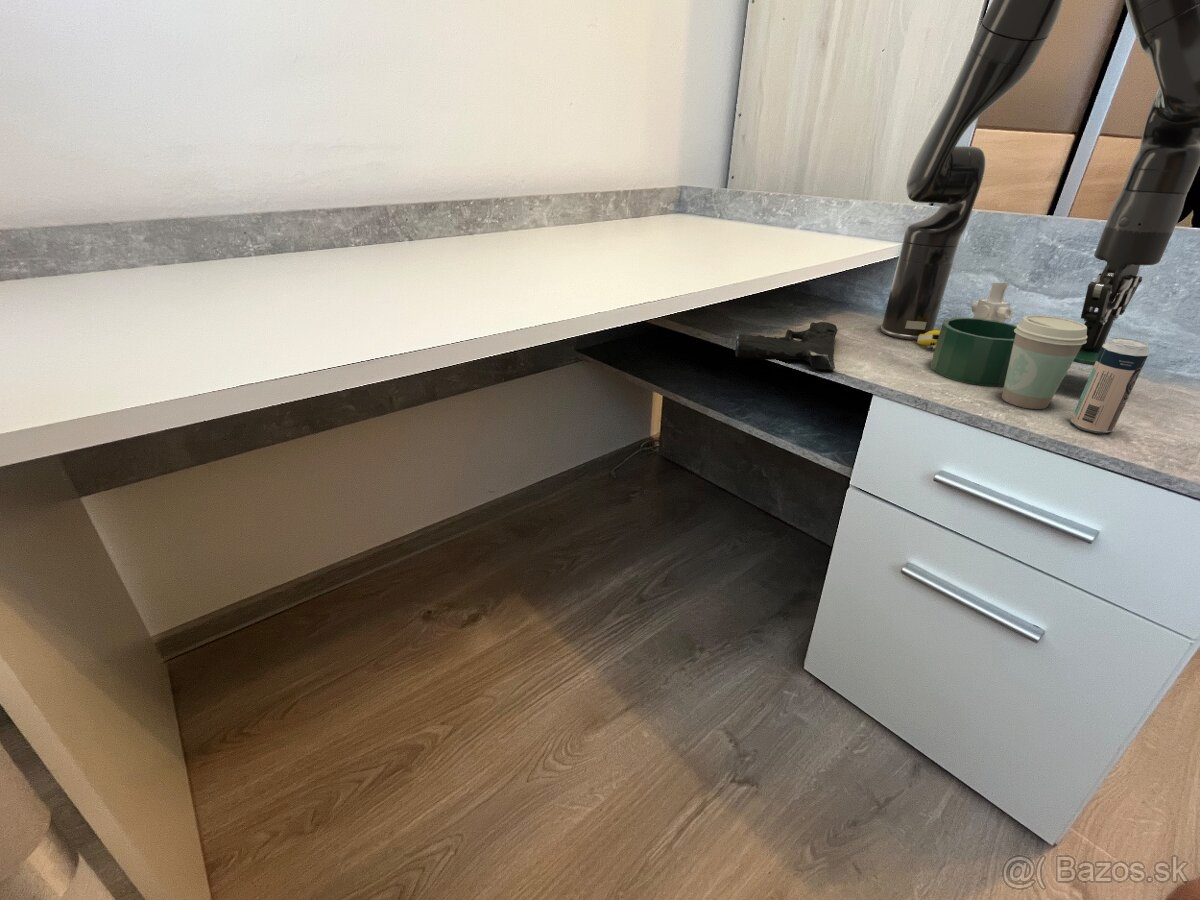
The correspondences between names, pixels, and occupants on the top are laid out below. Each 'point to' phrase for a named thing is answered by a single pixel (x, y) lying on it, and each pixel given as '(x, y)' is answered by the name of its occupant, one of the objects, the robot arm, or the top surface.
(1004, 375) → the pot
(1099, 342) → the lid
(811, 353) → the handgun
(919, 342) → the yellow curved piece
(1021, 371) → the coffee cup
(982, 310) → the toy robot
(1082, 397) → the beer can
